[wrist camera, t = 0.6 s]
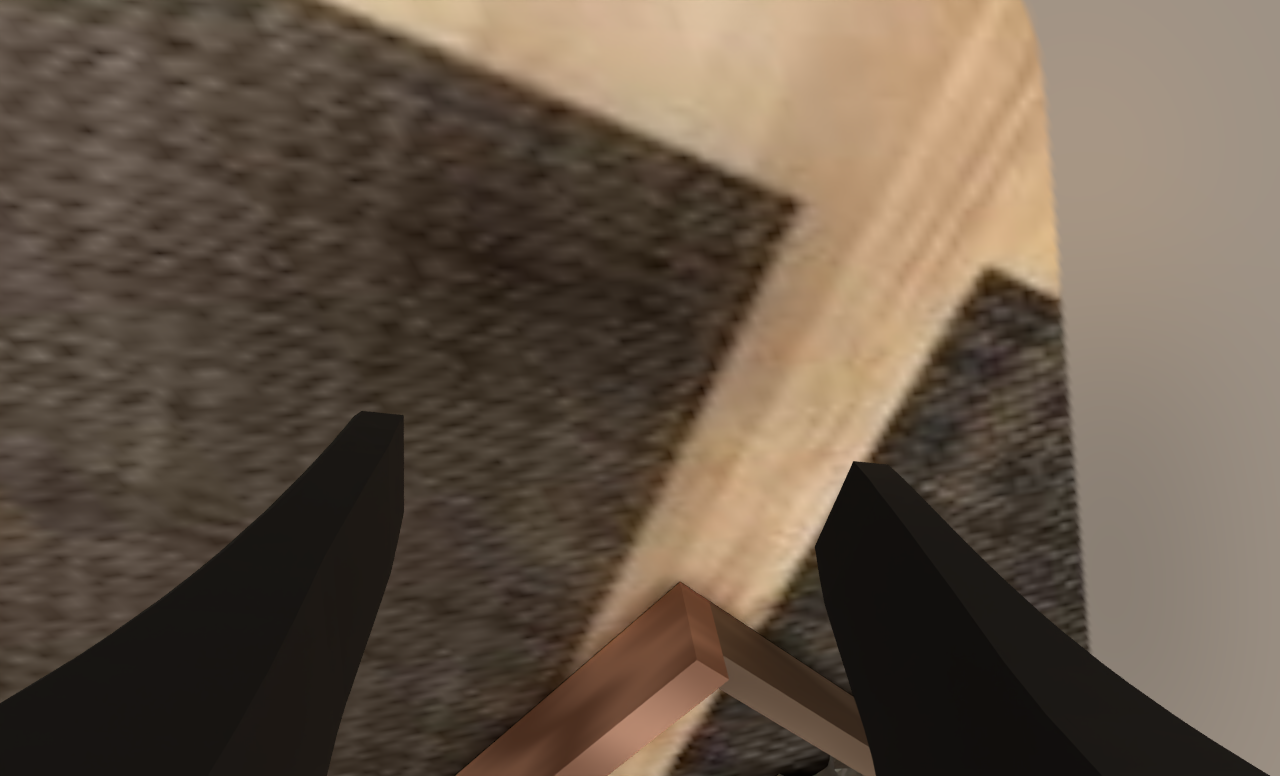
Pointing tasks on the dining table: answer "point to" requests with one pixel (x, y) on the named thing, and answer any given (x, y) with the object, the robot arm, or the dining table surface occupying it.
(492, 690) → the dining table surface
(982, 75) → the dining table surface
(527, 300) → the dining table surface
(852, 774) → the egg carton
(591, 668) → the channel
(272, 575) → the robot arm
